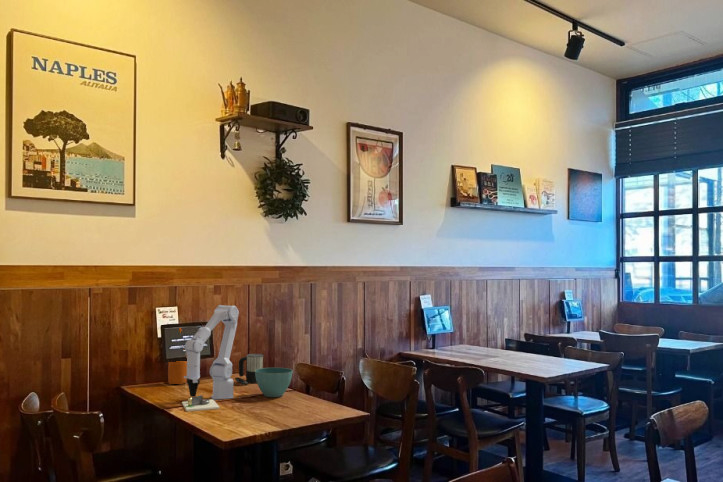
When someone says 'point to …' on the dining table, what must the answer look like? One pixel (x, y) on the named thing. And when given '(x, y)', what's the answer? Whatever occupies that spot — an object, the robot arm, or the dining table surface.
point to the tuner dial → (197, 400)
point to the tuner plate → (201, 406)
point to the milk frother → (250, 368)
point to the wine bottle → (177, 371)
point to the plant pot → (273, 380)
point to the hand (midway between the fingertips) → (192, 396)
